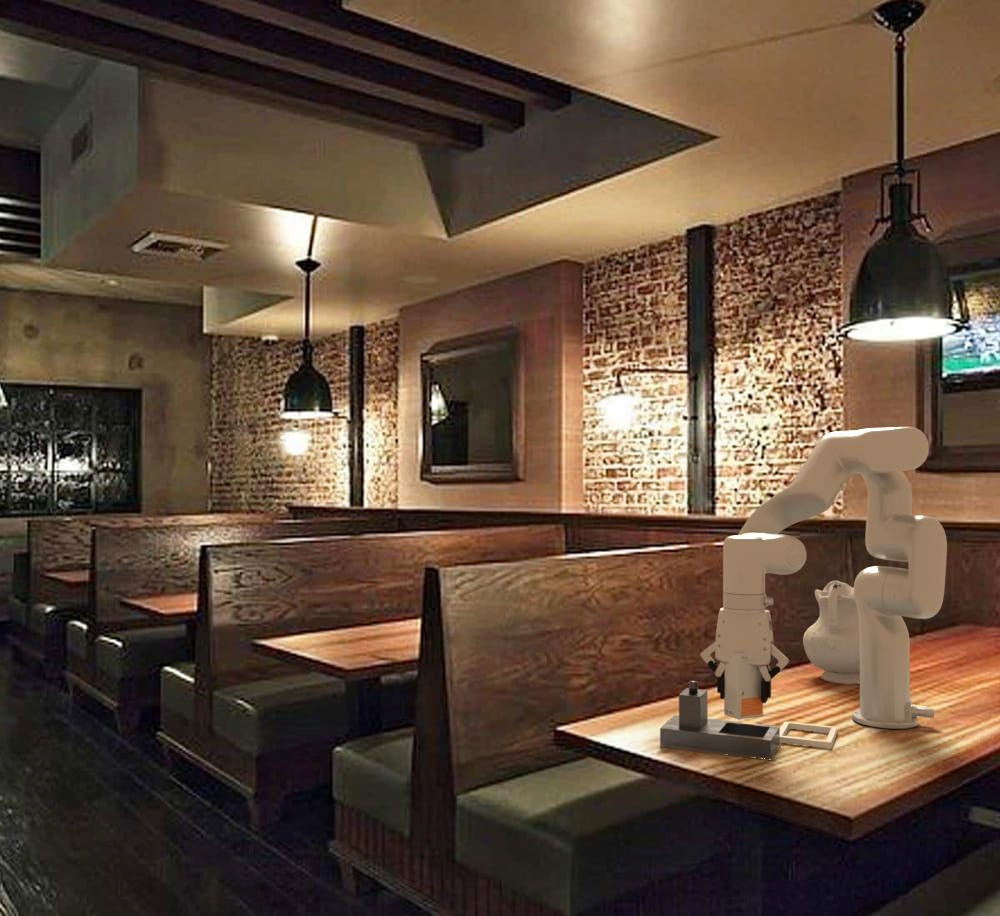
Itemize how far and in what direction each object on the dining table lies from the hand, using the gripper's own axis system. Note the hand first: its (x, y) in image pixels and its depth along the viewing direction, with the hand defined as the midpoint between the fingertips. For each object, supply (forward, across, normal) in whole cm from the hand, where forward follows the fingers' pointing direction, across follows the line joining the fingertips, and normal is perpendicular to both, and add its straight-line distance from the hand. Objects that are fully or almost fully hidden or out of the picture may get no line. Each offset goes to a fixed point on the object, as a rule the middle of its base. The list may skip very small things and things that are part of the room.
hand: (743, 698), depth 177 cm
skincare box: (+3, 0, 0) cm, 3 cm away
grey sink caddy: (+9, +4, 0) cm, 10 cm away
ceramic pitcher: (+9, -12, -70) cm, 71 cm away
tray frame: (+9, -10, -13) cm, 18 cm away
